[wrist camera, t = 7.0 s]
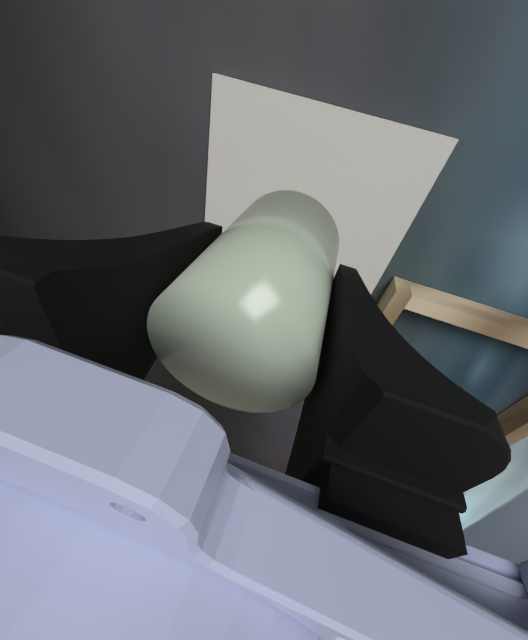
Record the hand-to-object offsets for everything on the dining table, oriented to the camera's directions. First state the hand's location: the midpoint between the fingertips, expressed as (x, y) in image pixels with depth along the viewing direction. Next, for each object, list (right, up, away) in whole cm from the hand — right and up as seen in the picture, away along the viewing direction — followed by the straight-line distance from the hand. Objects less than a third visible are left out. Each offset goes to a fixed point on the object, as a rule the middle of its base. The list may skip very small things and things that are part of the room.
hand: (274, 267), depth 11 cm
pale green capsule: (+1, +1, +2) cm, 2 cm away
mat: (+1, +3, +4) cm, 5 cm away
